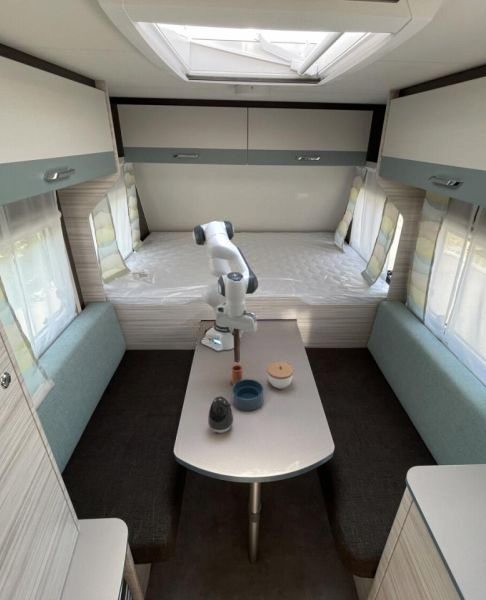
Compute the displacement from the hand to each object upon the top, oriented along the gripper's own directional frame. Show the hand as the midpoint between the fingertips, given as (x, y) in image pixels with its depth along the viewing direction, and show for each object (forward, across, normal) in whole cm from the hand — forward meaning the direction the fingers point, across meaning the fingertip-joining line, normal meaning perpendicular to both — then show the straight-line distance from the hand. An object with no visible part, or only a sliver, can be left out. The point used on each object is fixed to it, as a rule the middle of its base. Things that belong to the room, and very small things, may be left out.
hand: (236, 335), depth 150 cm
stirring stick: (+14, 0, 0) cm, 14 cm away
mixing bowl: (+27, -11, +9) cm, 30 cm away
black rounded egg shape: (+27, -9, +28) cm, 40 cm away
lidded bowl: (+27, -19, -9) cm, 34 cm away
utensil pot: (+27, 0, 0) cm, 27 cm away
